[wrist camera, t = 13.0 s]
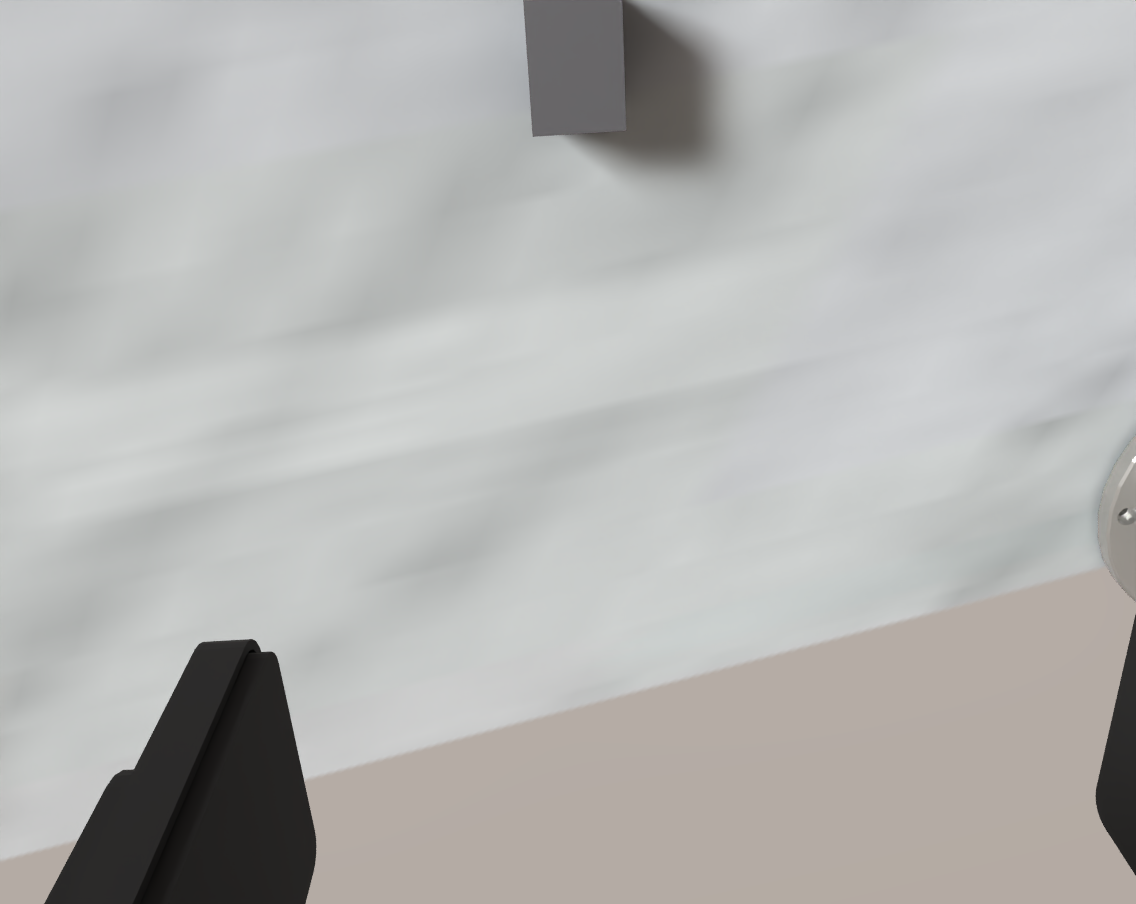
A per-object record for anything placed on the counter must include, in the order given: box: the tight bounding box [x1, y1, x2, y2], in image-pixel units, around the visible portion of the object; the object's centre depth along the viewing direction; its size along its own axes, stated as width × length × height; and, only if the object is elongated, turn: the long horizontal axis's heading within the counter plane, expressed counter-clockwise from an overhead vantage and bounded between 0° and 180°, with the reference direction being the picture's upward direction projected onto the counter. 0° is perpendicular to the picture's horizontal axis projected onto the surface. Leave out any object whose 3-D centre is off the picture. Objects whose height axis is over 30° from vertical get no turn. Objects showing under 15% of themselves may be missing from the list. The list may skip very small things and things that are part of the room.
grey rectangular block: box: [523, 0, 626, 137], centre depth 34 cm, size 3×4×5 cm
